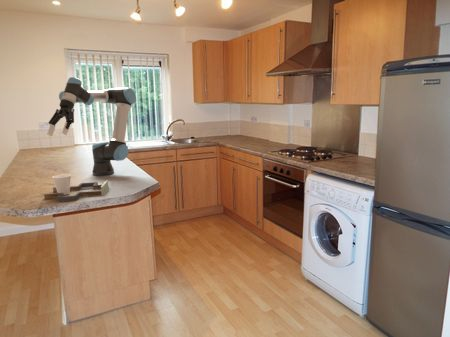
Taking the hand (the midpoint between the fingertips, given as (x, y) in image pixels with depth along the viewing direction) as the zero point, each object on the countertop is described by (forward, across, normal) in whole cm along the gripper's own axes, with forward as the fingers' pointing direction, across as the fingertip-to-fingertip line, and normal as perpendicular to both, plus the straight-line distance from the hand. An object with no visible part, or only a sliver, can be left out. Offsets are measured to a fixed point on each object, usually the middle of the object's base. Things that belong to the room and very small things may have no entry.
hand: (56, 134), depth 189 cm
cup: (+31, 0, +16) cm, 35 cm away
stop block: (+25, +18, +29) cm, 42 cm away
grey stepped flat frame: (+29, +6, +20) cm, 36 cm away
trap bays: (+29, +6, +20) cm, 36 cm away
